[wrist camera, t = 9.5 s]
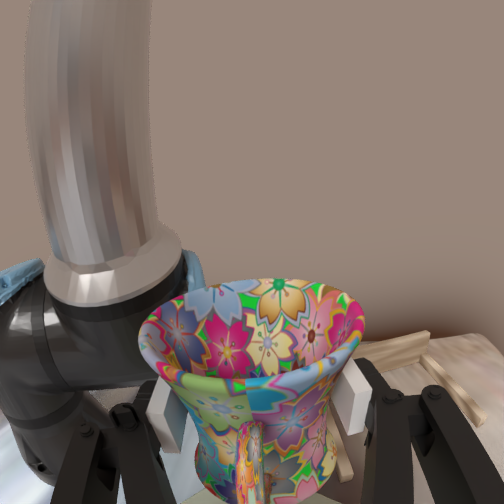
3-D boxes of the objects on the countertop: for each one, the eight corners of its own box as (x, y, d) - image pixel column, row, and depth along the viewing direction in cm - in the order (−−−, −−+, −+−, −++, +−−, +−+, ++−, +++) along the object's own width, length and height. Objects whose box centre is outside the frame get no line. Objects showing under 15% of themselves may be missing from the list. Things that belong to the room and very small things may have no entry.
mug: (203, 415, 18) (173, 284, 16) (327, 406, 18) (332, 271, 16) (172, 553, 7) (54, 433, 4) (364, 546, 6) (452, 419, 4)
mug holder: (483, 423, 19) (498, 394, 18) (340, 483, 19) (347, 458, 18) (420, 356, 37) (426, 330, 36) (308, 382, 37) (308, 354, 36)
